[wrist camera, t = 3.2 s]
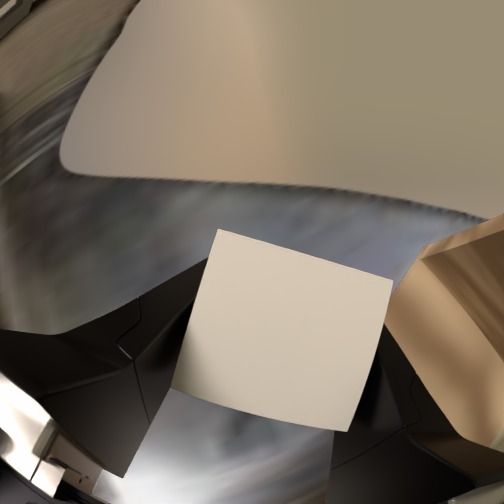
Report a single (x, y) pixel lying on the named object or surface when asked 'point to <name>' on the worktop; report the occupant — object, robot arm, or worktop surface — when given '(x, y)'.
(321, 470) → the worktop surface
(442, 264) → the wooden stand
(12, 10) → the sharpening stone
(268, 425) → the worktop surface
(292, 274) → the bookend
